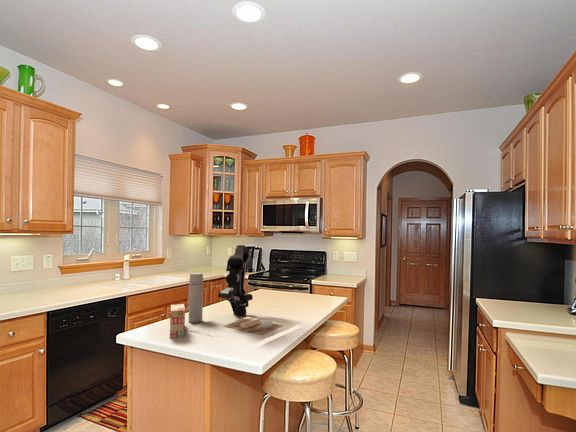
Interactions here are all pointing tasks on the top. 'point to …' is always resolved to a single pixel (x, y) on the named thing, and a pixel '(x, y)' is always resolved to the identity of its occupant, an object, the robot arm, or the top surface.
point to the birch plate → (246, 322)
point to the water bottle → (195, 297)
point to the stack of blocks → (177, 321)
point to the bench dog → (266, 325)
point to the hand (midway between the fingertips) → (234, 312)
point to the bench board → (253, 328)
